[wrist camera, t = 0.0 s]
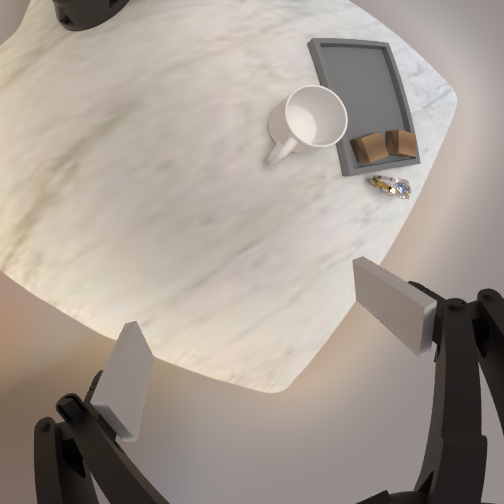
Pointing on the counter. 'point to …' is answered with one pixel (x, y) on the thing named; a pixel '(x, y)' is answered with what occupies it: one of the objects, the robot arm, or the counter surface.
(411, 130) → the tray
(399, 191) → the ring
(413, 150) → the block
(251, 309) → the counter surface
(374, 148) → the block
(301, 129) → the cup
